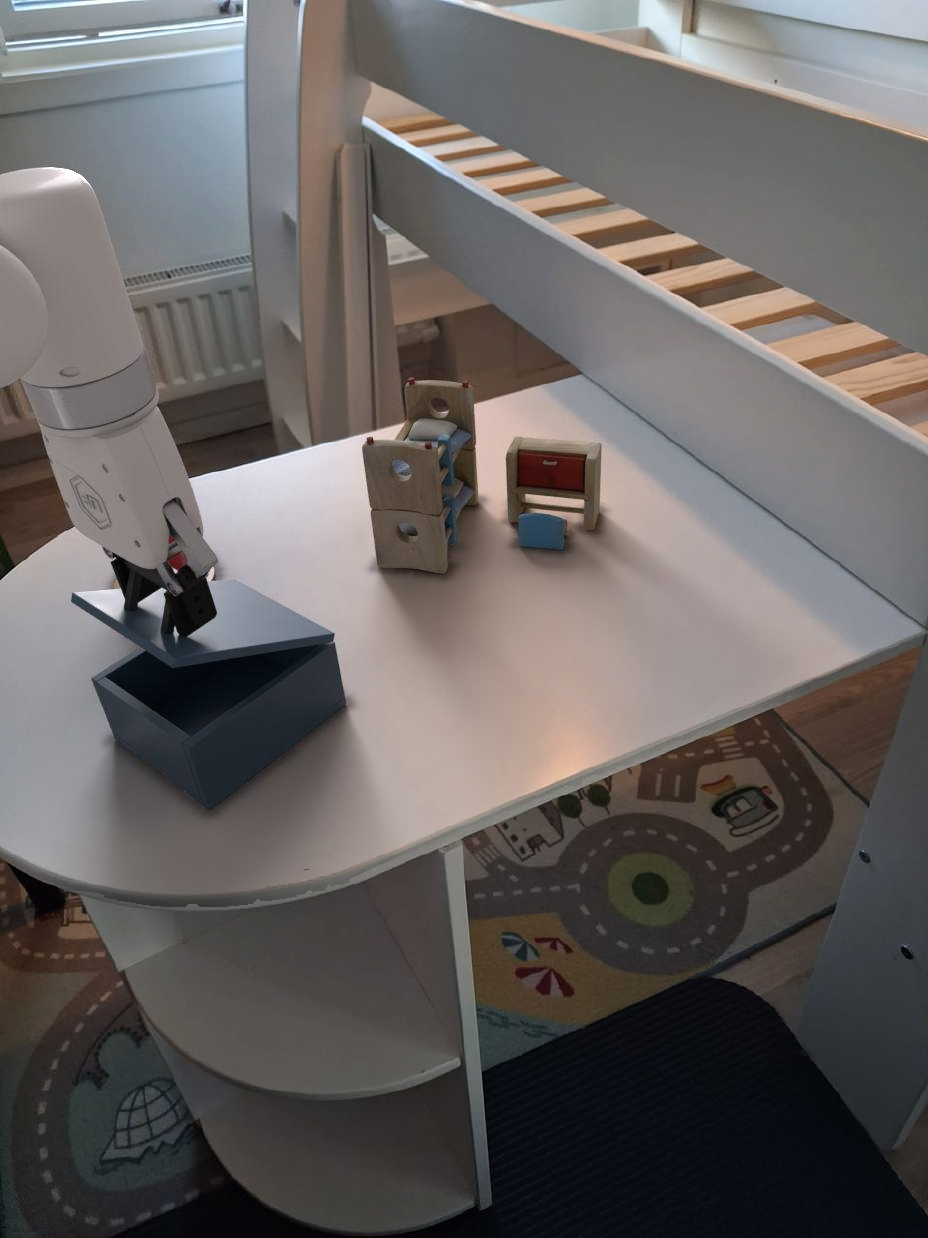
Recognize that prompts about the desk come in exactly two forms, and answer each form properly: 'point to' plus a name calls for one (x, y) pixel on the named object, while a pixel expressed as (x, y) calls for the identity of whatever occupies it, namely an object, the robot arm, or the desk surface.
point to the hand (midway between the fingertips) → (171, 607)
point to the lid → (233, 633)
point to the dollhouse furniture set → (465, 480)
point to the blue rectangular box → (219, 712)
